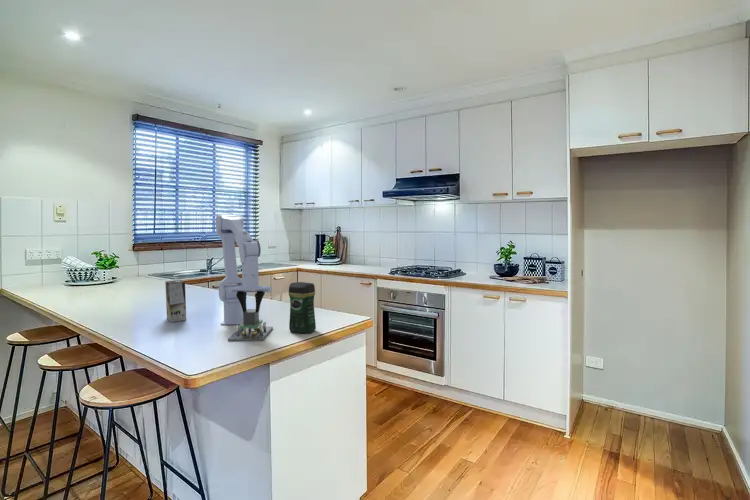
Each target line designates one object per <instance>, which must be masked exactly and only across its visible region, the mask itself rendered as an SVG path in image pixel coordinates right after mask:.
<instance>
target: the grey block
mask: <svg viewBox="0 0 750 500" xmlns="http://www.w3.org/2000/svg"><path fill="white" fill-rule="evenodd" d="M259 314H260V311H259V312H256V308H247V309H246V311H245V312H243V323H242V324H241V325H240V324H239V328H240V329H246V327H249V329H257V328H258V327H259V326H260V325H263V322H264V321H263V319H260V315H259Z"/></svg>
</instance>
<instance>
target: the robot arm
mask: <svg viewBox="0 0 750 500" xmlns="http://www.w3.org/2000/svg"><path fill="white" fill-rule="evenodd" d="M244 226H245V221H244V217H243V215H242V214H217V215H216V218H215V231H216V235H217V236H218V237H219V238H221V239H220V240H221V244H222V255H223V264H224V273H225V277H224V278H223V279H222V280H220V282H219V284H218V298H219V300H220V301H221V302H223V321H222V322H221V323H220V325H221V326H222V325H231V326H234V325H236V326H237V325H240V322H243V312H245V311H246V310H247V309H248V308H247V295H248V294H247V293H254V299H255V309H256V312H259V313H260V308H261V303H262V300H263V298H264V295H265V294H266V293H271V292H272V286H269V285H259V284H260V283H259V280H260V279H259V257H261V251H262V250H261V247H262V246H261V244H260V242H259V240H257V241H256V240H254V239H253V237H252V236H251V235H250V232H249V231H247V230H245V229H244ZM235 244H236V245H237V247H238V252H239V253H238V254H239V258H240V259H239V260H240V263H241V277H239V276H238V275H239V274H238V265H237V256H236V253H237V252H236V247H235V246H236V245H235Z"/></svg>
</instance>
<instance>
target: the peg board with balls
mask: <svg viewBox="0 0 750 500" xmlns="http://www.w3.org/2000/svg"><path fill="white" fill-rule="evenodd" d="M242 323H243V322H240V324H237V325H236V327H235V329H236V330H235V332H234V333H233V334H231V336H229V337H228V338H227V341H228V342H261V341H262V342H263V341H265V339H266V338H267V337H268V336H269V334H270V333H271V331H272V330H273V328H274V326H267V321H263V323H262V324H261V325H260V326H259V327H258V328H257V329H249V327H246V329H240V325H241V324H242Z"/></svg>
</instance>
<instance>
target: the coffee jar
mask: <svg viewBox="0 0 750 500" xmlns="http://www.w3.org/2000/svg"><path fill="white" fill-rule="evenodd" d="M315 295H316V288H315V284H314V283H312V282H303V281H297V282H291V283H289V287H288V296H289V303H290V304H289V305H290V306H289V307H290V308H289V322H288V323H289V324H288V325H289V328H288V330H289V331H290V332H292V333H295V334H296V333H297V334H307V333H309V334H311V333H313V332H315V331H316V328H317V325H316V317H315V316H316V315H315V305H314V303H315V301H314V300H315Z"/></svg>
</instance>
